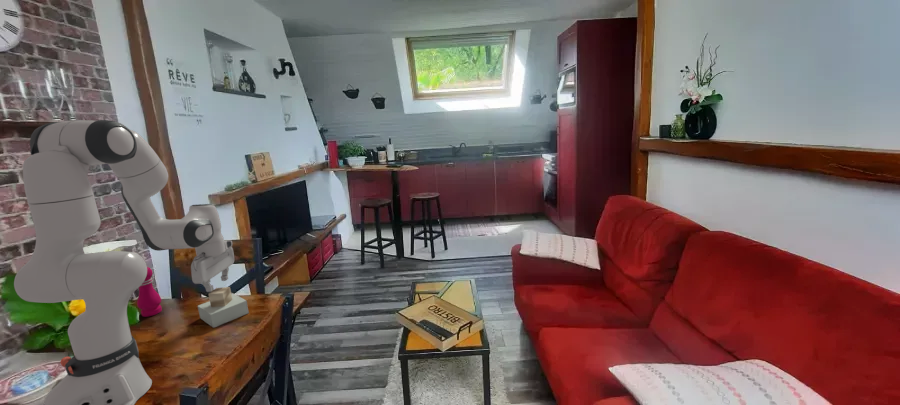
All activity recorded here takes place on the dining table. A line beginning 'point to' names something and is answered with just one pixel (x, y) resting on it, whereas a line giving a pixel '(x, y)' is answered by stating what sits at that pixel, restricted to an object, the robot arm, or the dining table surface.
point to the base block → (223, 311)
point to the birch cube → (220, 296)
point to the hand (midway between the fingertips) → (217, 285)
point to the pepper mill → (148, 297)
